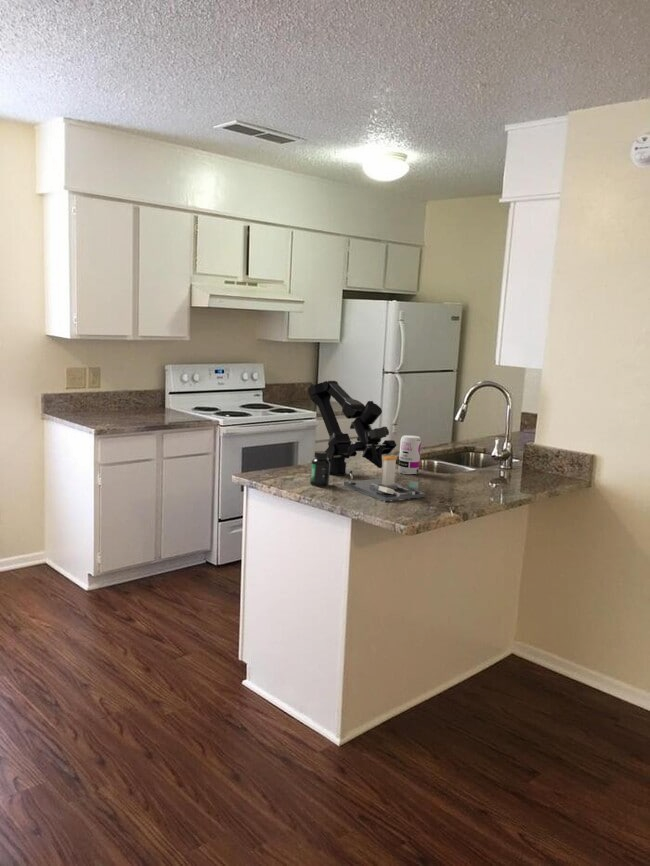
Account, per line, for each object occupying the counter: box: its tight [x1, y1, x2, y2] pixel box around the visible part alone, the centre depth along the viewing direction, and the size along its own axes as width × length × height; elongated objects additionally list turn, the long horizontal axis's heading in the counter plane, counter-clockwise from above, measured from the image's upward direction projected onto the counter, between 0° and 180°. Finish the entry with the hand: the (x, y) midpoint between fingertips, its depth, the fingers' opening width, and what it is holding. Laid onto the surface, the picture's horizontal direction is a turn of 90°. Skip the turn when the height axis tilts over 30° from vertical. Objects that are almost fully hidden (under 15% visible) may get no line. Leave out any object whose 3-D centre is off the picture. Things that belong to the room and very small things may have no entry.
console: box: [343, 478, 426, 502], centre depth 257 cm, size 24×18×2 cm
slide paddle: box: [378, 455, 398, 490], centre depth 254 cm, size 5×5×11 cm
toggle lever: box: [348, 469, 354, 481], centre depth 260 cm, size 1×1×4 cm
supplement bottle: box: [309, 450, 331, 488], centre depth 261 cm, size 7×7×12 cm
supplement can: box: [397, 434, 422, 475], centre depth 290 cm, size 8×8×15 cm
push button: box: [407, 480, 419, 490], centre depth 253 cm, size 3×3×2 cm
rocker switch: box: [378, 486, 394, 494], centre depth 247 cm, size 4×3×1 cm
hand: (380, 467), depth 258 cm, fingers closed
